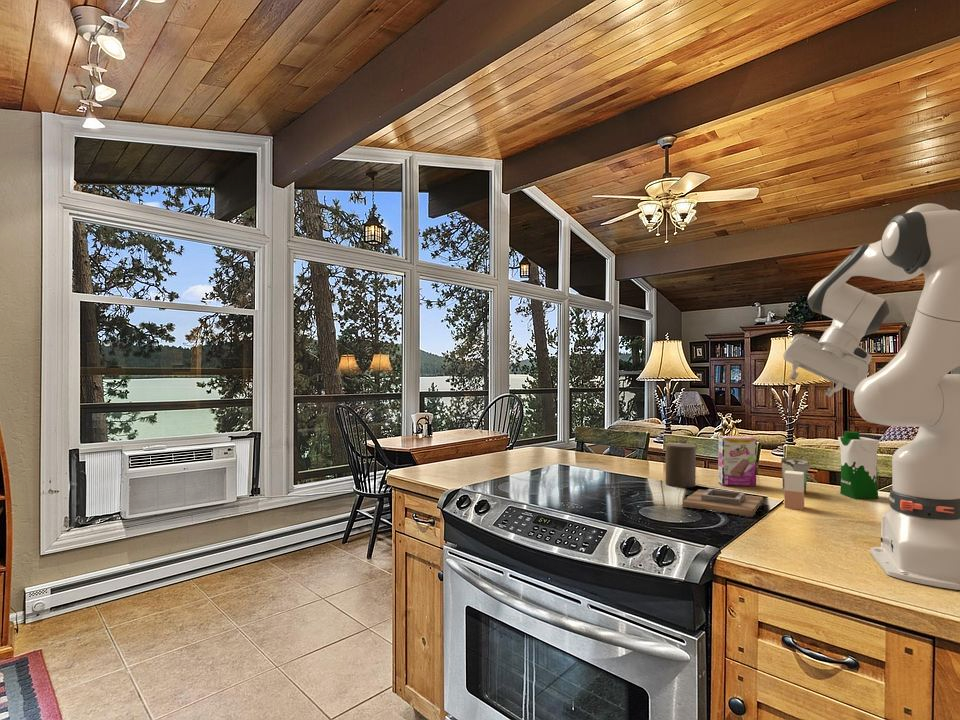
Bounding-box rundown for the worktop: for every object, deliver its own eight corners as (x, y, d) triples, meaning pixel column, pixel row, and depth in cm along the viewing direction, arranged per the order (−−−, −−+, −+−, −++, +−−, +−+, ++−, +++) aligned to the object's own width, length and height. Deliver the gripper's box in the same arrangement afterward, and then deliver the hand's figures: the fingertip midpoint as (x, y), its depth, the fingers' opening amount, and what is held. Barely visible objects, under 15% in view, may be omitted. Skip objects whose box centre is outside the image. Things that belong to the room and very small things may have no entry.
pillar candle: (672, 487, 181) (672, 442, 181) (661, 481, 190) (661, 438, 190) (700, 487, 181) (701, 443, 181) (688, 481, 191) (688, 438, 191)
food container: (816, 497, 167) (816, 464, 167) (794, 496, 169) (794, 464, 169) (801, 488, 179) (801, 457, 180) (781, 487, 181) (781, 457, 181)
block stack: (802, 510, 152) (802, 474, 152) (784, 507, 155) (784, 472, 155) (804, 506, 156) (803, 472, 156) (786, 504, 159) (786, 470, 159)
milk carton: (835, 492, 172) (834, 430, 173) (864, 492, 172) (863, 430, 172) (853, 499, 164) (853, 433, 164) (884, 499, 163) (883, 433, 164)
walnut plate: (752, 518, 145) (752, 505, 145) (682, 508, 155) (682, 495, 155) (762, 503, 159) (762, 492, 159) (698, 495, 170) (698, 484, 170)
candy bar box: (722, 486, 183) (722, 437, 183) (717, 483, 188) (717, 435, 188) (757, 486, 181) (757, 438, 182) (751, 483, 186) (751, 436, 187)
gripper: (799, 326, 153) (772, 364, 152) (878, 359, 142) (851, 401, 141) (796, 335, 159) (771, 373, 157) (872, 368, 148) (846, 409, 146)
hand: (809, 386), depth 149 cm, fingers open, 8 cm apart
